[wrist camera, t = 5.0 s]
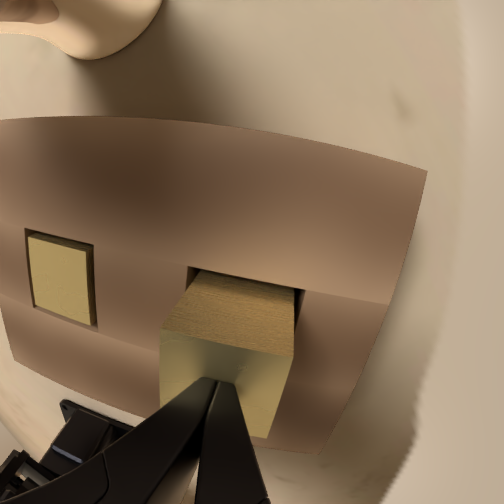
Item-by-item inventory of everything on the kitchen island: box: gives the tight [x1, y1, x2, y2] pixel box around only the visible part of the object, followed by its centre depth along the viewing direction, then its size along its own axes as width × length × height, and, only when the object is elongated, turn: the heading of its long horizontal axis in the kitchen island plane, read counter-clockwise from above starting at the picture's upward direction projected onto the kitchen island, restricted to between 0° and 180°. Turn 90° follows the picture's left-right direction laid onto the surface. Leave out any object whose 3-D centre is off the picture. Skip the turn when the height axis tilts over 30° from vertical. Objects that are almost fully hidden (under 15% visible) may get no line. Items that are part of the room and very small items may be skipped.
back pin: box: [28, 232, 97, 326], centre depth 12 cm, size 3×3×4 cm
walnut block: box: [0, 116, 427, 454], centre depth 12 cm, size 12×16×4 cm
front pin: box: [159, 269, 294, 439], centre depth 9 cm, size 3×3×4 cm
